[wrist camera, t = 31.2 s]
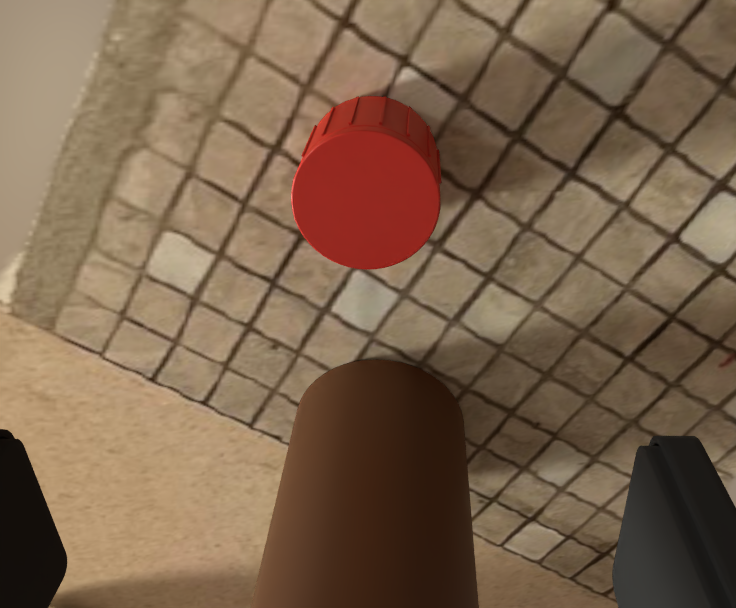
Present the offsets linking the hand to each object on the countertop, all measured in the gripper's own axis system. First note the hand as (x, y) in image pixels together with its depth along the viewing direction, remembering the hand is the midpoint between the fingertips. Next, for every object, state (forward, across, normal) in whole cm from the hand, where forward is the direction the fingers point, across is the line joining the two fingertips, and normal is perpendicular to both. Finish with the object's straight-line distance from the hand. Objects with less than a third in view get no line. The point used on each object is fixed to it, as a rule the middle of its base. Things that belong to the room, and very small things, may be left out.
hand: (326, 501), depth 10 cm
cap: (+12, 0, -1) cm, 12 cm away
